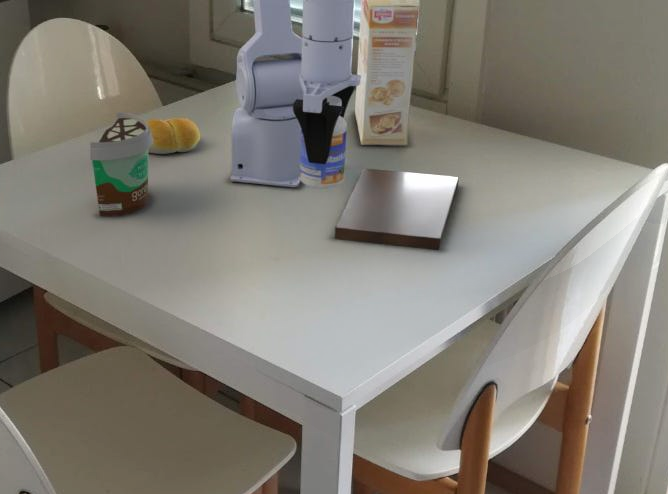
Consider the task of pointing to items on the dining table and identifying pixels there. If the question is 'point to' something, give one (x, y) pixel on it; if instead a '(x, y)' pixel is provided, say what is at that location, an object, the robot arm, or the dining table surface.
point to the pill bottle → (335, 164)
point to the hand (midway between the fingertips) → (322, 153)
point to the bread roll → (173, 135)
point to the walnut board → (398, 209)
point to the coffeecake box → (385, 70)
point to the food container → (122, 165)
